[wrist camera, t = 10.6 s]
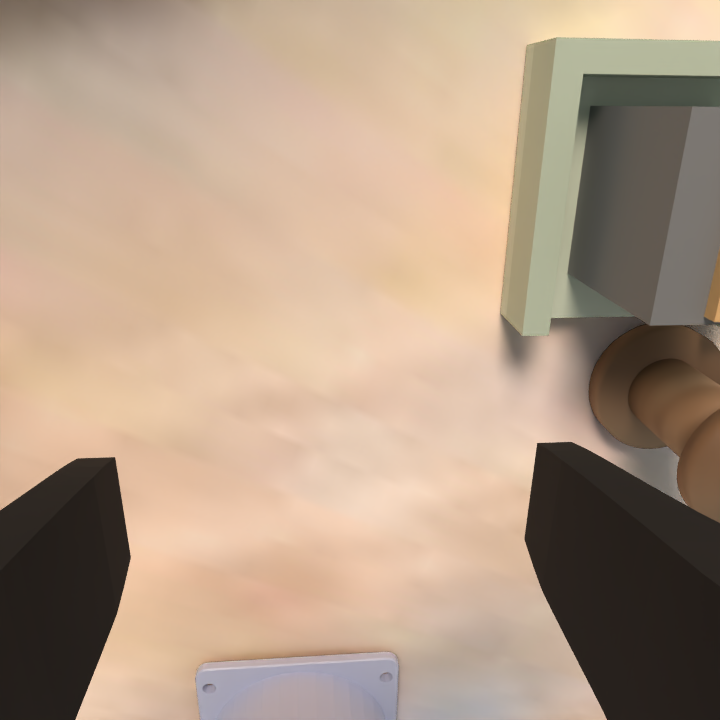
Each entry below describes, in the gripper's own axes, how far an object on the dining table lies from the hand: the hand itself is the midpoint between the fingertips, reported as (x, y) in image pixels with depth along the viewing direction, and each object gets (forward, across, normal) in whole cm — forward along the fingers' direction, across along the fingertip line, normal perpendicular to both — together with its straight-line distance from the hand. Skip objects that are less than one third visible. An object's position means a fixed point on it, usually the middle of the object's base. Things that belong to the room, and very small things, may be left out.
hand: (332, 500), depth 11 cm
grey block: (+9, -10, -4) cm, 14 cm away
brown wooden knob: (+10, -12, +2) cm, 15 cm away
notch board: (+10, -10, -4) cm, 14 cm away
